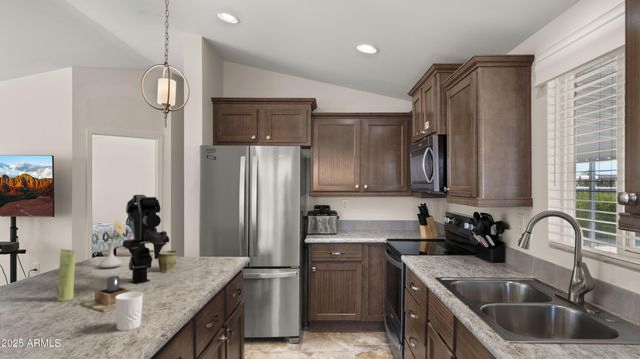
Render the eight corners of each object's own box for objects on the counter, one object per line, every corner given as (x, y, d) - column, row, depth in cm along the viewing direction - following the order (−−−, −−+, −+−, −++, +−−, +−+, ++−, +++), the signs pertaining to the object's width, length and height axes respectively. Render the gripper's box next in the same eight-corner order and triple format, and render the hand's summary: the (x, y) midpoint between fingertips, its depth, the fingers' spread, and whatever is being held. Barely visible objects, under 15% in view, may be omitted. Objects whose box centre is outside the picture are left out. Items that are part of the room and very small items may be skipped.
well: (82, 305, 128) (83, 292, 128) (119, 294, 140) (120, 283, 140) (104, 312, 121) (104, 298, 121) (141, 300, 133) (141, 288, 134)
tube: (76, 296, 137) (77, 248, 138) (73, 300, 133) (75, 250, 133) (59, 298, 135) (60, 248, 135) (55, 302, 130) (57, 251, 130)
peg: (104, 301, 130) (104, 277, 130) (114, 298, 133) (115, 275, 133) (110, 303, 128) (110, 279, 128) (120, 300, 131) (121, 276, 132)
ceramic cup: (172, 273, 175) (172, 254, 175) (152, 273, 175) (153, 253, 175) (182, 267, 188) (183, 249, 188) (164, 267, 188) (165, 249, 188)
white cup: (121, 321, 113) (122, 291, 113) (146, 321, 114) (147, 291, 114) (109, 332, 105) (110, 299, 105) (135, 331, 106) (136, 299, 106)
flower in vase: (104, 270, 178) (105, 222, 179) (94, 267, 184) (95, 221, 185) (129, 266, 189) (130, 221, 190) (119, 263, 195) (120, 219, 196)
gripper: (139, 229, 138) (138, 267, 137) (177, 224, 154) (177, 259, 154) (122, 227, 143) (121, 264, 143) (161, 223, 159) (160, 256, 159)
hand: (146, 261), depth 149 cm, fingers open, 9 cm apart
